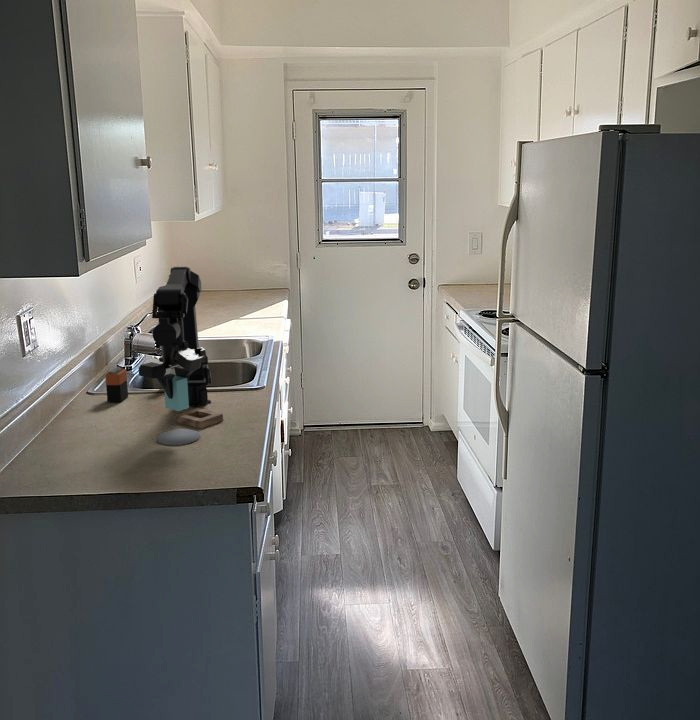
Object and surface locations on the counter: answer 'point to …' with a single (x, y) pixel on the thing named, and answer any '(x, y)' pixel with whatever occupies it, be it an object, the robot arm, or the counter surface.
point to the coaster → (178, 437)
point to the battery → (116, 385)
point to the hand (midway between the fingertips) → (176, 396)
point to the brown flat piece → (199, 418)
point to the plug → (178, 395)
